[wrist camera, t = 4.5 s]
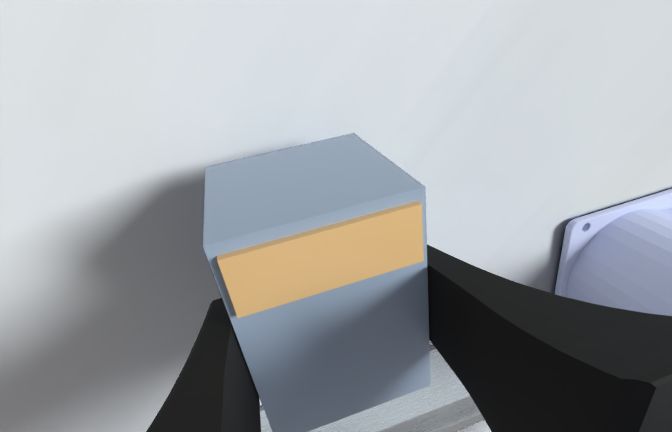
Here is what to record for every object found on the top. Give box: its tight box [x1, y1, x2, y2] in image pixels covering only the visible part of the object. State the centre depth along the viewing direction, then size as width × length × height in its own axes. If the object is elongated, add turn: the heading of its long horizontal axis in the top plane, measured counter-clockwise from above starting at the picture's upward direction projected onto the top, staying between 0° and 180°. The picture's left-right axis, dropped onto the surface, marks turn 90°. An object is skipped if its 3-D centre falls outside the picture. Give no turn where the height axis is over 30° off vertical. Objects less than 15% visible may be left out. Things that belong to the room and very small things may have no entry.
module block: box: [203, 133, 431, 432], centre depth 12 cm, size 5×7×5 cm
